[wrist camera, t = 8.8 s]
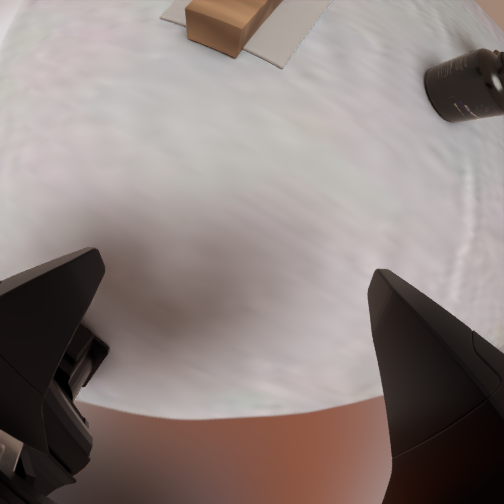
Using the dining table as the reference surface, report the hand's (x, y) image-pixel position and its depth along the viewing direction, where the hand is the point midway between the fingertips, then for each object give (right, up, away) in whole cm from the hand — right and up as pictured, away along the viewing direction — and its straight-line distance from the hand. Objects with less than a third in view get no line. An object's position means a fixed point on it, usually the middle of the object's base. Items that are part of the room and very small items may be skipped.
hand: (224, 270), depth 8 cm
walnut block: (-2, +16, +7) cm, 18 cm away
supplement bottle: (+22, +18, +13) cm, 32 cm away
